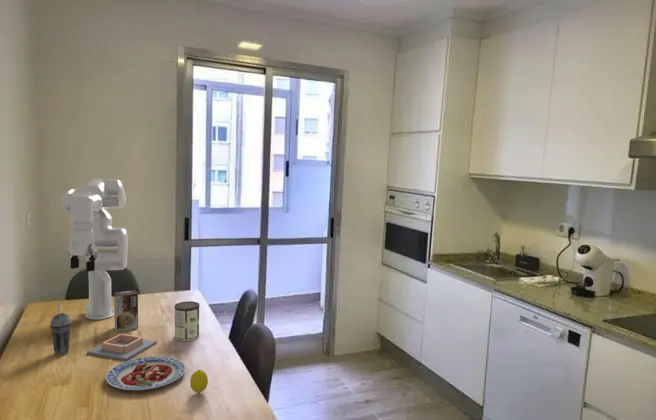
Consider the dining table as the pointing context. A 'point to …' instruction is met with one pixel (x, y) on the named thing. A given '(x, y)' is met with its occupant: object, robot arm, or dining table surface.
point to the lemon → (198, 381)
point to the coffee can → (186, 321)
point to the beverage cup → (61, 332)
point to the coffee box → (126, 310)
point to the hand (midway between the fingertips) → (82, 269)
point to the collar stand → (122, 347)
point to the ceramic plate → (145, 373)
